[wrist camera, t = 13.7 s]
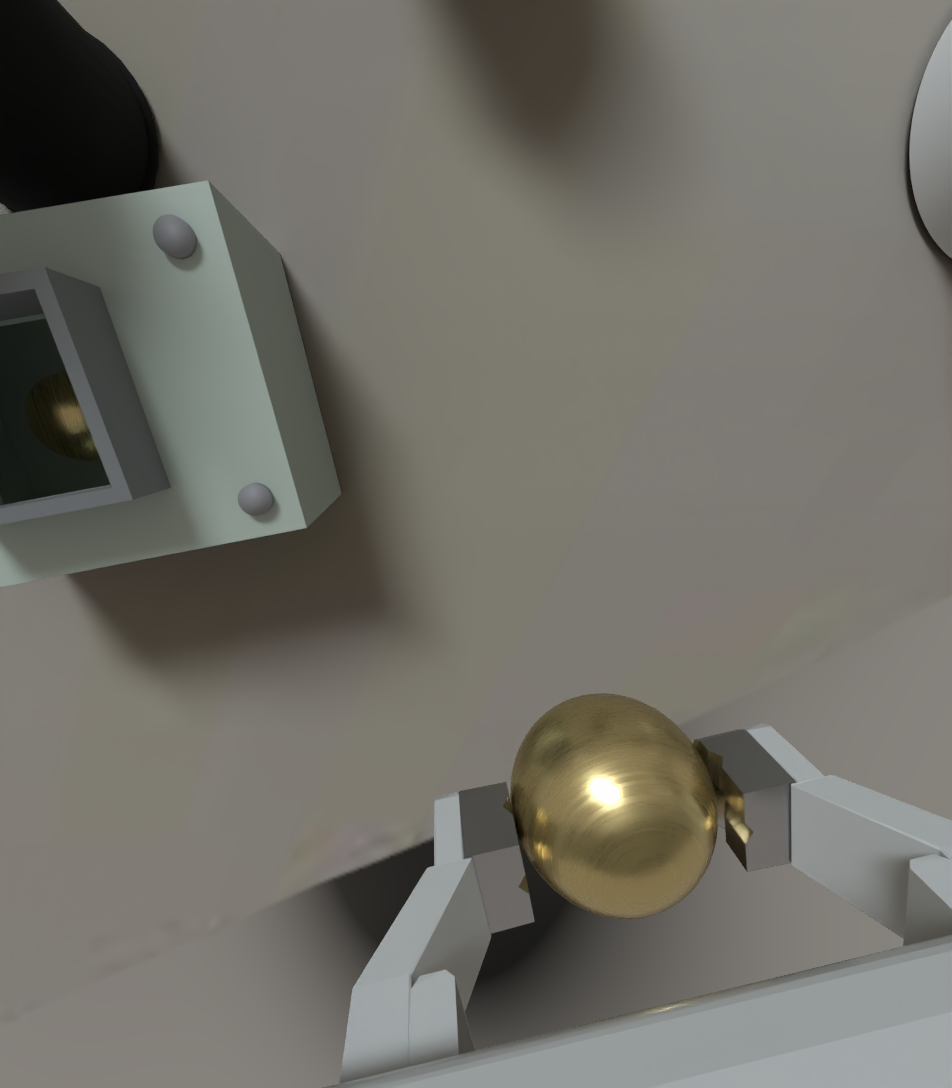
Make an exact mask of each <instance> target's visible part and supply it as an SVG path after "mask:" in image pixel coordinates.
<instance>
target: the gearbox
mask: <svg viewBox="0 0 952 1088" xmlns="http://www.w3.org/2000/svg"><path fill="white" fill-rule="evenodd" d="M62 371H67V374H68V376H69V379H70V381H71V384H72V386H73V389H74V392H75V394H76V397H77V399H78V402H79V404H80V407H81V410H82V412H83V415H84V417H85V420H86V422H87V425H88V428H89V430H90V433H91V435H92V438H93V440H94V443H95V446H96V448H97V451H98V453H99V456H100V458H101V460H94V461H84V460H76V459H72V458H68V457H65V456H62V455H60V454H58V453H56V452H54V451H52V450H51V449H49V448H48V447H46V446H45V445H44V444H43V443H42V442H40V441H39V440H38V439H37V437H36V436H35V435H34V434H33V432H32V431H31V429H30V427H29V425H28V423H27V420H26V415H25V402H26V398H27V396H28V393H29V392H30V390H31V388H32V387H33V386H34V385H35V384H36V383H37V382H38V381H40V380H41V379H43V378H44V377H46V376H48V375H51V374H53V373H57V372H62ZM341 494H342V493H341V489H340V485H339V481H338V477H337V474H336V470H335V466H334V462H333V458H332V454H331V450H330V446H329V443H328V439H327V435H326V431H325V427H324V423H323V419H322V415H321V411H320V408H319V404H318V400H317V396H316V392H315V388H314V384H313V380H312V377H311V373H310V369H309V365H308V361H307V357H306V353H305V349H304V346H303V342H302V338H301V334H300V330H299V326H298V322H297V318H296V315H295V311H294V307H293V303H292V299H291V295H290V291H289V287H288V284H287V280H286V276H285V272H284V268H283V264H282V260H281V256H280V253H279V252H278V251H277V250H276V249H275V248H274V247H273V246H272V245H271V244H270V243H269V242H268V241H267V240H266V239H265V238H264V237H263V236H262V235H261V234H260V233H259V232H258V231H257V230H256V229H255V228H254V227H253V226H252V225H251V224H250V222H249V221H248V220H247V219H246V218H245V217H244V216H243V215H242V214H241V213H240V212H239V211H238V210H237V209H236V208H235V207H234V206H233V205H232V204H231V203H230V202H229V201H228V200H227V199H226V198H225V197H224V196H223V195H222V194H221V193H220V192H219V191H218V190H217V189H216V188H215V187H214V186H213V185H212V184H211V183H210V182H209V181H202V182H196V183H190V184H184V185H178V186H172V187H166V188H160V189H154V190H148V191H142V192H136V193H130V194H124V195H118V196H112V197H106V198H100V199H94V200H88V201H82V202H76V203H70V204H64V205H58V206H52V207H46V208H40V209H34V210H28V211H22V212H15V213H9V214H3V215H0V587H3V586H8V585H14V584H19V583H24V582H29V581H34V580H40V579H45V578H50V577H55V576H60V575H65V574H71V573H76V572H81V571H86V570H91V569H97V568H102V567H107V566H112V565H117V564H123V563H128V562H133V561H138V560H143V559H148V558H154V557H159V556H164V555H169V554H174V553H180V552H185V551H190V550H195V549H200V548H206V547H211V546H216V545H221V544H226V543H231V542H237V541H242V540H247V539H252V538H257V537H263V536H268V535H273V534H278V533H283V532H289V531H294V530H299V529H304V528H307V527H308V526H309V525H310V524H311V523H312V522H313V521H314V520H315V519H316V518H317V517H319V516H320V515H321V514H322V513H323V512H324V511H325V510H326V509H327V508H328V507H329V506H330V505H331V504H332V503H333V502H334V501H335V500H336V499H337V498H338V497H339V496H340V495H341Z"/></svg>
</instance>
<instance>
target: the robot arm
mask: <svg viewBox="0 0 952 1088" xmlns="http://www.w3.org/2000/svg"><path fill="white" fill-rule="evenodd" d="M909 156H910V174H911V182H912V188H913V193H914V197H915V201H916V204H917V207H918V210H919V213H920V215H921V218H922V220H923V222H924V224H925V226H926V228H927V230H928V232H929V233H930V235H931V237H932V238H933V239H934V241H935V242H936V243H937V245H938V246H939V247H940V248H941V249H942V250H943V251H944V252H945V253H946V254H947V255H948V256H949V257H950V258H951V259H952V20H951V21H950V23H949V25H948V26H947V28H946V29H945V31H944V33H943V35H942V36H941V38H940V40H939V42H938V44H937V46H936V48H935V50H934V52H933V54H932V56H931V58H930V61H929V63H928V65H927V68H926V71H925V73H924V76H923V79H922V82H921V85H920V88H919V92H918V95H917V99H916V103H915V108H914V113H913V118H912V125H911V134H910V152H909ZM693 745H694V746H695V748H696V749H697V751H698V752H699V754H700V756H701V758H702V760H703V761H704V763H705V766H706V768H707V770H708V772H709V775H710V778H711V781H712V784H713V788H714V791H715V795H716V802H717V812H718V825H719V826H720V827H722V828H724V829H725V832H726V842H727V844H728V845H729V846H730V848H731V849H732V851H733V852H734V854H735V855H736V857H737V858H738V859H739V861H740V862H741V863H742V865H743V866H744V868H745V869H746V871H747V872H748V871H753V870H758V869H763V868H768V867H773V866H778V865H783V864H788V863H792V866H794V867H795V868H796V869H798V870H799V871H801V872H803V873H804V874H806V875H807V876H809V877H810V878H812V879H814V880H815V881H816V882H818V883H819V884H821V885H822V886H824V887H826V888H827V889H828V890H830V891H832V892H833V893H835V894H836V895H838V896H839V897H841V898H842V899H844V900H845V901H847V902H848V903H850V904H851V905H853V906H854V907H856V908H858V909H859V910H861V911H862V912H864V913H865V914H867V915H868V916H870V917H871V918H873V919H874V920H876V921H877V922H879V923H881V924H882V925H884V926H885V927H887V928H888V929H890V930H891V931H893V932H894V933H896V934H897V935H899V936H900V937H902V938H904V945H903V947H899V948H895V949H891V950H887V951H883V952H878V953H874V954H870V955H866V956H862V957H858V958H854V959H850V960H846V961H842V962H838V963H833V964H829V965H825V966H821V967H817V968H813V969H809V970H805V971H801V972H797V973H793V974H789V975H784V976H780V977H776V978H773V979H768V980H764V981H760V982H756V983H752V984H747V985H743V986H739V987H735V988H731V989H727V990H723V991H719V992H715V993H710V994H706V995H703V996H698V997H694V998H690V999H686V1000H681V1001H678V1002H673V1003H669V1004H665V1005H661V1006H657V1007H653V1008H649V1009H645V1010H640V1011H637V1012H632V1013H628V1014H624V1015H620V1016H616V1017H612V1018H607V1019H603V1020H599V1021H595V1022H591V1023H587V1024H583V1025H579V1026H575V1027H570V1028H566V1029H562V1030H558V1031H554V1032H550V1033H546V1034H542V1035H538V1036H534V1037H529V1038H526V1039H521V1040H517V1041H513V1042H509V1043H505V1044H501V1045H497V1046H492V1047H488V1048H485V1049H480V1050H476V1051H475V1048H474V1045H473V1041H472V1037H471V1034H470V1030H469V1027H468V1023H467V1019H466V1016H465V1010H466V1007H467V1004H468V1001H469V998H470V995H471V992H472V990H473V987H474V984H475V981H476V978H477V976H478V973H479V970H480V967H481V964H482V961H483V959H484V956H485V953H486V950H487V947H488V944H489V942H490V939H491V933H494V932H498V931H502V930H506V929H509V928H513V927H517V926H520V925H524V924H528V923H532V922H535V921H534V916H533V911H532V906H531V901H530V896H529V891H528V886H527V881H526V875H525V870H524V865H523V861H522V856H521V851H520V846H519V841H518V836H517V831H516V827H515V821H514V816H513V812H512V807H511V802H510V798H509V793H508V788H507V783H506V782H503V783H498V784H493V785H488V786H483V787H478V788H473V789H468V790H463V791H460V792H456V793H451V794H445V795H440V796H436V797H435V801H434V852H435V853H434V855H435V856H434V857H435V866H433V867H429V868H427V869H426V871H425V872H424V874H423V875H422V878H421V879H420V880H419V882H418V884H417V885H416V887H415V888H414V890H413V892H412V893H411V895H410V897H409V898H408V900H407V902H406V903H405V905H404V906H403V908H402V910H401V911H400V913H399V914H398V916H397V918H396V919H395V921H394V923H393V924H392V926H391V927H390V929H389V931H388V932H387V934H386V936H385V937H384V939H383V940H382V942H381V944H380V945H379V947H378V948H377V950H376V952H375V953H374V955H373V957H372V958H371V960H370V961H369V963H368V965H367V966H366V968H365V969H364V971H363V973H362V974H361V976H360V978H359V979H358V981H357V982H356V984H355V986H354V987H353V990H352V997H351V1005H350V1012H349V1019H348V1026H347V1034H346V1041H345V1048H344V1056H343V1062H342V1070H341V1077H340V1084H337V1085H333V1086H328V1087H325V1088H952V821H951V820H948V819H946V818H943V817H940V816H938V815H935V814H933V813H930V812H927V811H925V810H922V809H919V808H917V807H914V806H912V805H909V804H907V803H904V802H901V801H899V800H896V799H894V798H891V797H889V796H886V795H883V794H881V793H878V792H876V791H873V790H870V789H868V788H865V787H863V786H860V785H858V784H855V783H852V782H850V781H847V780H844V779H842V778H839V777H837V776H834V775H830V776H824V775H823V774H822V773H821V772H820V771H819V770H818V769H816V767H814V766H813V765H812V764H811V763H810V762H809V761H808V760H807V759H806V758H805V757H803V755H801V754H800V753H799V752H798V751H797V750H796V749H795V748H794V747H793V746H792V745H791V744H789V743H788V742H787V741H786V740H785V739H784V738H783V737H782V736H781V735H780V734H779V733H777V732H776V731H775V730H774V729H773V728H772V727H771V726H770V725H768V724H765V723H761V724H757V725H753V726H749V727H745V728H741V729H740V730H734V731H729V732H725V733H721V734H717V735H713V736H708V737H704V738H699V739H696V740H694V743H693Z"/></svg>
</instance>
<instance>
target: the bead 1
mask: <svg viewBox="0 0 952 1088" xmlns="http://www.w3.org/2000/svg"><path fill="white" fill-rule="evenodd" d="M25 415H26V420H27V423H28V425H29V427H30V429H31V431H32V432H33V434H34V435H35V436H36V437H37V439H38V440H39V441H40V442H42V443H43V444H44V445H45V446H46V447H48V448H49V449H51V450H52V451H54V452H56V453H58V454H60V455H62V456H65V457H68V458H72V459H76V460H84V461H94V460H101V458H100V456H99V453H98V451H97V448H96V446H95V443H94V440H93V438H92V435H91V433H90V430H89V428H88V425H87V422H86V420H85V417H84V415H83V412H82V410H81V407H80V404H79V402H78V399H77V397H76V394H75V392H74V389H73V386H72V384H71V381H70V379H69V376H68V374H67V371H62V372H57V373H53V374H51V375H48V376H46V377H44V378H43V379H41V380H40V381H38V382H37V383H36V384H35V385H34V386H33V387H32V388H31V390H30V392H29V393H28V396H27V398H26V402H25Z"/></svg>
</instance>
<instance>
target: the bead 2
mask: <svg viewBox="0 0 952 1088" xmlns="http://www.w3.org/2000/svg"><path fill="white" fill-rule="evenodd" d="M510 798H511V806H512V812H513V816H514V821H515V827H516V830H517V833H518V837H519V839H520V841H521V844H522V846H523V848H524V850H525V852H526V854H527V856H528V858H529V860H530V861H531V863H532V864H533V865H534V867H535V868H536V870H537V871H538V873H539V874H540V875H541V876H542V878H543V879H544V880H545V881H546V882H547V883H548V884H549V885H550V886H551V887H552V888H553V889H554V890H555V891H556V892H558V893H559V894H560V895H562V896H563V897H564V898H566V899H567V900H568V901H570V902H571V903H573V904H575V905H577V906H579V907H580V908H583V909H585V910H587V911H590V912H592V913H595V914H597V915H601V916H606V917H611V918H618V919H635V918H643V917H648V916H651V915H655V914H657V913H660V912H662V911H665V910H667V909H669V908H670V907H672V906H674V905H675V904H677V903H679V902H680V901H681V900H682V899H684V898H685V897H686V896H687V895H688V894H689V893H690V892H691V891H692V890H693V889H694V887H695V886H696V885H697V884H698V882H699V881H700V879H701V877H702V876H703V875H704V873H705V871H706V869H707V867H708V865H709V863H710V860H711V857H712V854H713V851H714V848H715V844H716V838H717V828H718V812H717V802H716V795H715V791H714V788H713V784H712V781H711V778H710V775H709V772H708V770H707V768H706V766H705V763H704V761H703V760H702V758H701V756H700V754H699V752H698V751H697V749H696V748H695V746H694V745H693V743H692V742H691V741H690V739H689V738H688V737H687V736H686V734H685V733H683V731H682V730H681V729H680V728H679V727H678V726H677V725H676V724H675V723H674V722H673V721H671V720H670V719H669V718H668V717H666V716H665V715H664V714H662V713H661V712H659V711H658V710H656V709H655V708H653V707H651V706H649V705H647V704H645V703H643V702H641V701H638V700H635V699H632V698H629V697H625V696H621V695H616V694H606V693H601V694H588V695H582V696H578V697H575V698H571V699H569V700H566V701H564V702H562V703H560V704H558V705H556V706H555V707H553V708H552V709H550V710H549V711H548V712H546V713H545V714H544V715H543V716H542V717H541V718H540V719H539V720H538V721H537V722H536V723H535V724H534V725H533V726H532V727H531V729H530V730H529V732H528V733H527V735H526V736H525V738H524V740H523V742H522V744H521V746H520V748H519V750H518V753H517V756H516V759H515V762H514V766H513V771H512V776H511V794H510Z"/></svg>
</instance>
